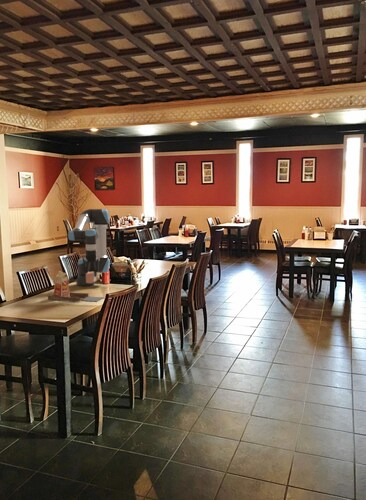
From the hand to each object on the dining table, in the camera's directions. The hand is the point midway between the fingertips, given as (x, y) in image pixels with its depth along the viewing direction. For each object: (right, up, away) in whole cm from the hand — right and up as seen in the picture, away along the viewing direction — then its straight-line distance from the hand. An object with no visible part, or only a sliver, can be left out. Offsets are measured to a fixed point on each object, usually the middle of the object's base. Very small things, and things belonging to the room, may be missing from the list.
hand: (91, 280), depth 318 cm
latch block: (0, -1, 0) cm, 1 cm away
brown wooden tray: (-16, -13, -6) cm, 21 cm away
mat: (+3, -13, -10) cm, 17 cm away
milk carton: (-21, -13, -5) cm, 25 cm away
